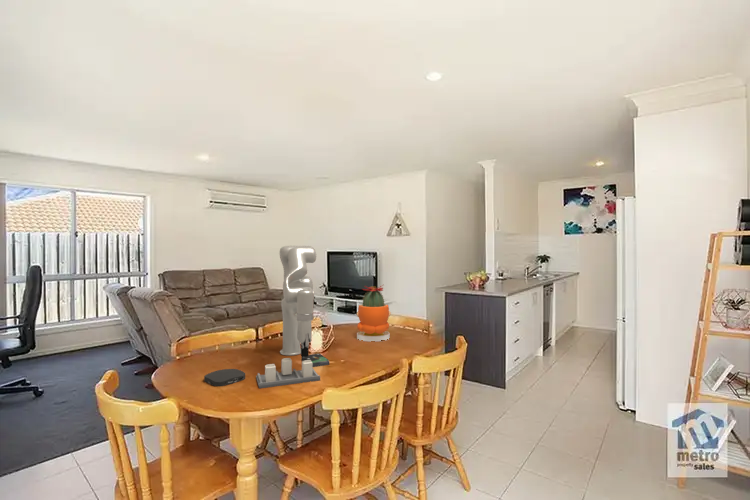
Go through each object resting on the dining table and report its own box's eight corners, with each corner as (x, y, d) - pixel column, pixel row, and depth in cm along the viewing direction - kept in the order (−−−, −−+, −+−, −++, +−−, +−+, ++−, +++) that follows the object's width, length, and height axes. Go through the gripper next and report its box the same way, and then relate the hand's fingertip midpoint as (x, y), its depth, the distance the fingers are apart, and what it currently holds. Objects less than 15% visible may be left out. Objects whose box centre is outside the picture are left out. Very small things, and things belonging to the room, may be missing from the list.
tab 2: (281, 372, 172) (281, 357, 172) (290, 371, 174) (290, 356, 174) (282, 375, 169) (282, 360, 168) (291, 374, 170) (291, 359, 170)
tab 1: (265, 379, 163) (265, 363, 163) (274, 378, 165) (274, 362, 165) (266, 382, 159) (266, 366, 159) (275, 381, 161) (275, 365, 161)
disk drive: (300, 361, 197) (310, 368, 184) (300, 355, 197) (310, 362, 184) (319, 358, 202) (330, 365, 189) (319, 353, 202) (330, 359, 189)
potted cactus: (355, 335, 252) (356, 283, 252) (388, 334, 254) (389, 283, 254) (357, 343, 230) (358, 286, 230) (393, 342, 233) (394, 286, 233)
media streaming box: (231, 372, 177) (231, 366, 177) (248, 379, 168) (248, 372, 168) (200, 380, 166) (200, 374, 166) (217, 388, 157) (217, 381, 157)
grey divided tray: (256, 377, 169) (256, 373, 169) (312, 370, 179) (312, 366, 179) (259, 388, 156) (259, 383, 156) (320, 380, 166) (320, 375, 166)
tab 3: (301, 374, 169) (301, 359, 169) (310, 373, 171) (310, 358, 171) (303, 377, 166) (303, 362, 165) (312, 376, 167) (312, 361, 167)
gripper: (293, 314, 178) (293, 352, 179) (300, 320, 164) (299, 362, 165) (309, 313, 181) (309, 350, 181) (317, 319, 167) (316, 360, 168)
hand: (304, 356), depth 173 cm, fingers closed
